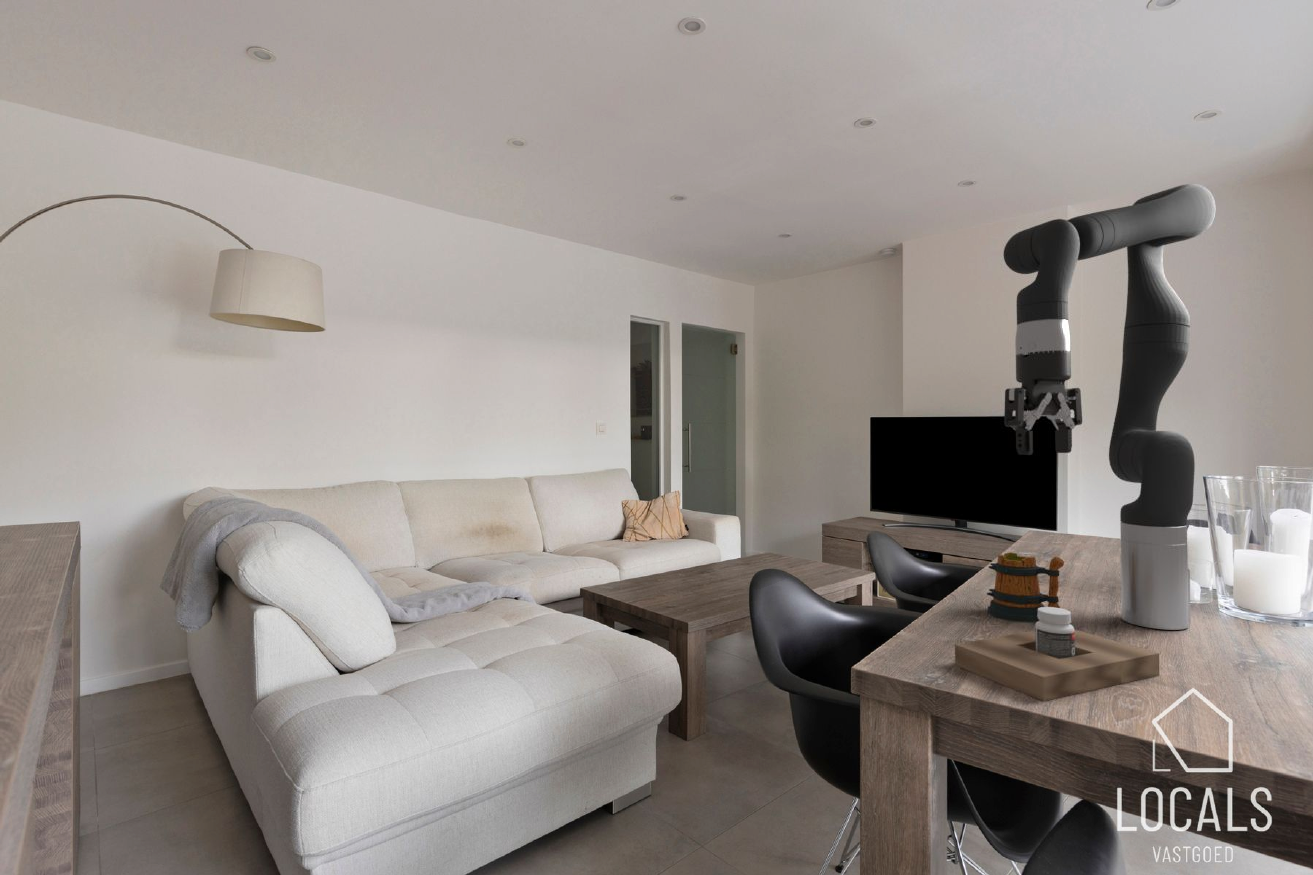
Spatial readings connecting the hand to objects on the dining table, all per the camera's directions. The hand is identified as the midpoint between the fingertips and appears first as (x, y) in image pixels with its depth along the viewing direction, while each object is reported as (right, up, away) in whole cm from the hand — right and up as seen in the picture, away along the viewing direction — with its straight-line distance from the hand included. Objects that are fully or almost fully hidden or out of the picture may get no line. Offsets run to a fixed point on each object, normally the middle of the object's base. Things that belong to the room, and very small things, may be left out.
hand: (1044, 453), depth 104 cm
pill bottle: (-5, -30, -12) cm, 33 cm away
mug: (+5, -30, +15) cm, 34 cm away
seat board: (-6, -30, -12) cm, 33 cm away
